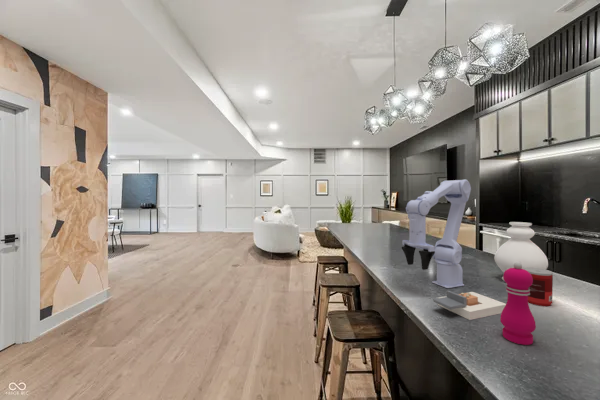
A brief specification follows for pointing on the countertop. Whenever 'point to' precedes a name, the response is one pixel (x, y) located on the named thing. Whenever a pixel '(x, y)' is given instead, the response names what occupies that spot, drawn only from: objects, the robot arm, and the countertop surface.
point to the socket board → (479, 308)
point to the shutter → (452, 301)
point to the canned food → (540, 287)
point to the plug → (470, 299)
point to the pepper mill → (518, 306)
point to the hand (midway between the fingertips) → (417, 266)
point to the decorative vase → (520, 249)
